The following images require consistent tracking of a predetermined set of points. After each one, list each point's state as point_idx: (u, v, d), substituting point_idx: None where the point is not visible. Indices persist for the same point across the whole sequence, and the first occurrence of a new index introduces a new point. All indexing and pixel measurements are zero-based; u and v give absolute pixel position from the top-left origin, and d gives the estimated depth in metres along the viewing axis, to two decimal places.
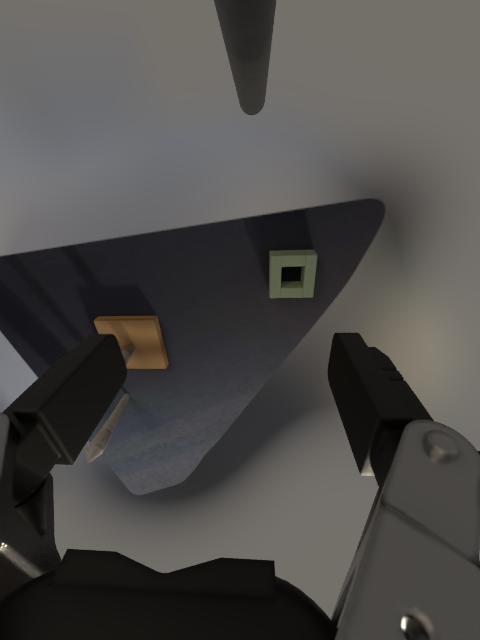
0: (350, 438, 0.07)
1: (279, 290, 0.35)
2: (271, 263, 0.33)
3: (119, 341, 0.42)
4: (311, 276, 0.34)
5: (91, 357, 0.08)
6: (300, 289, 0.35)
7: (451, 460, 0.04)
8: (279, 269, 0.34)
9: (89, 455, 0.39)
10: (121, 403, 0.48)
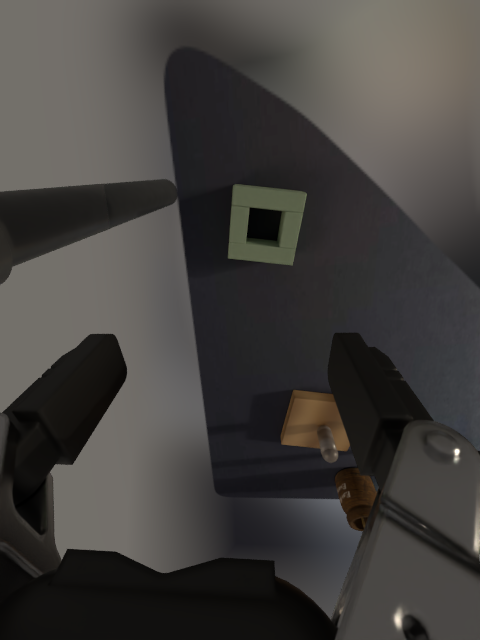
0: (350, 438, 0.07)
1: (282, 249, 0.23)
2: (238, 257, 0.23)
3: (312, 434, 0.37)
4: (267, 196, 0.21)
5: (91, 357, 0.08)
6: (287, 215, 0.21)
7: (451, 460, 0.04)
8: (248, 247, 0.23)
9: None
10: None
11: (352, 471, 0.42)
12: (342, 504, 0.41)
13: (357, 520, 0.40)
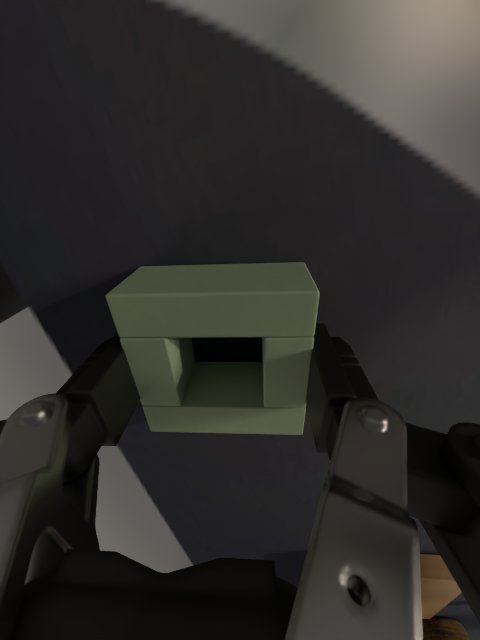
0: (311, 420, 0.08)
1: (272, 411, 0.09)
2: (173, 429, 0.10)
3: None
4: (207, 309, 0.07)
5: None
6: (272, 345, 0.08)
7: (379, 429, 0.05)
8: (191, 411, 0.09)
9: None
10: None
11: (437, 627, 0.27)
12: None
13: None
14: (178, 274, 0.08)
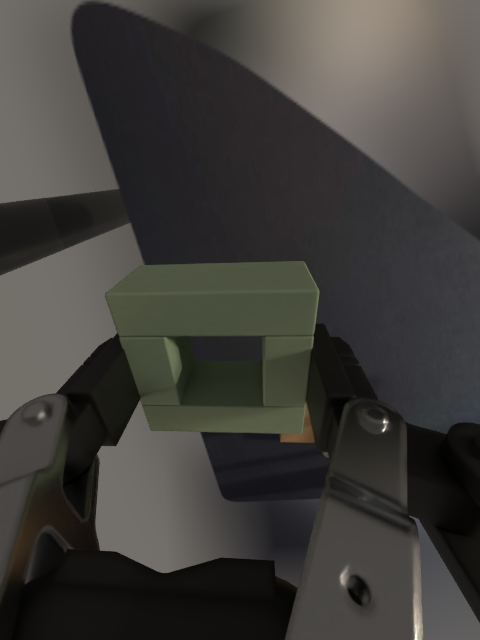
0: (311, 420, 0.08)
1: (272, 410, 0.09)
2: (173, 429, 0.10)
3: None
4: (206, 308, 0.07)
5: None
6: (272, 344, 0.08)
7: (379, 429, 0.05)
8: (190, 410, 0.09)
9: None
10: None
11: None
12: None
13: None
14: (178, 273, 0.08)
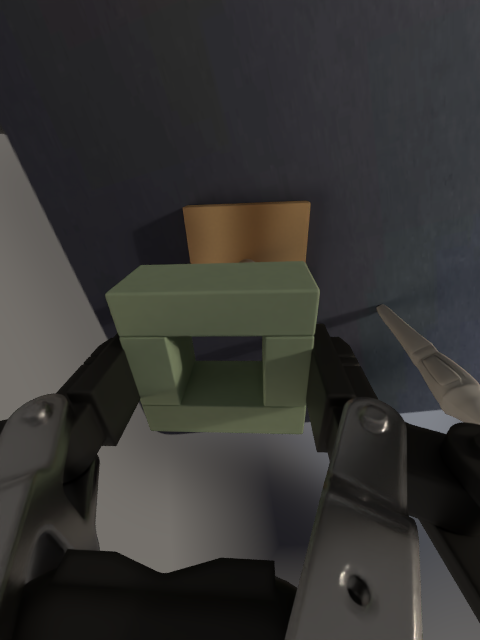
0: (311, 420, 0.08)
1: (273, 410, 0.09)
2: (173, 429, 0.10)
3: None
4: (207, 308, 0.07)
5: None
6: (272, 344, 0.08)
7: (379, 429, 0.05)
8: (191, 410, 0.09)
9: (469, 418, 0.14)
10: (387, 320, 0.23)
11: None
12: None
13: None
14: (178, 273, 0.08)
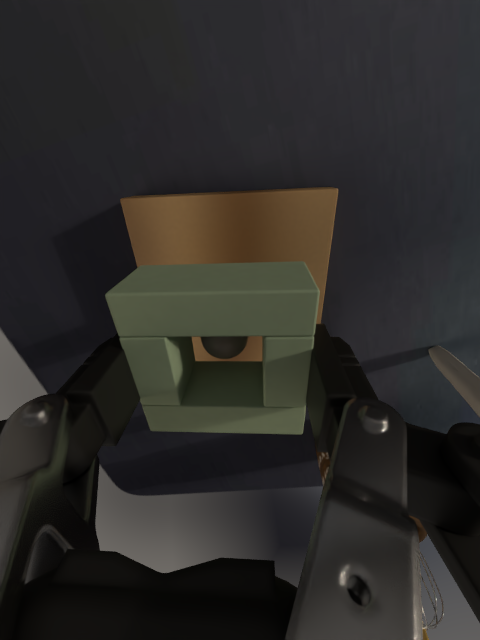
0: (311, 420, 0.08)
1: (273, 411, 0.09)
2: (173, 429, 0.10)
3: None
4: (207, 309, 0.07)
5: None
6: (272, 345, 0.08)
7: (379, 429, 0.05)
8: (190, 411, 0.09)
9: None
10: (454, 376, 0.14)
11: None
12: None
13: None
14: (178, 273, 0.08)
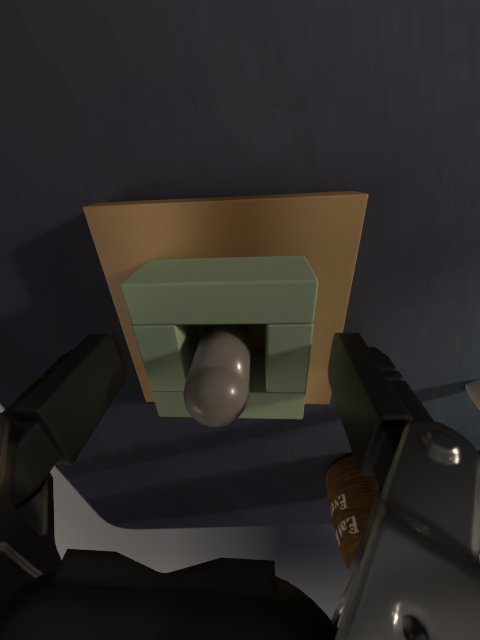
0: (350, 438, 0.07)
1: (274, 396, 0.10)
2: (181, 414, 0.11)
3: None
4: (214, 298, 0.08)
5: (91, 357, 0.08)
6: (274, 332, 0.08)
7: (451, 460, 0.04)
8: None
9: None
10: None
11: None
12: (341, 551, 0.15)
13: None
14: (186, 266, 0.09)
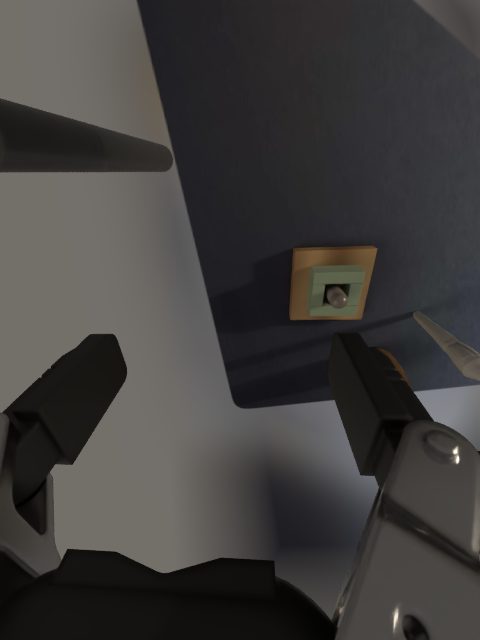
0: (350, 438, 0.07)
1: (348, 307, 0.32)
2: (317, 315, 0.33)
3: None
4: (338, 276, 0.30)
5: (91, 357, 0.08)
6: (352, 285, 0.31)
7: (451, 460, 0.04)
8: (324, 308, 0.33)
9: (478, 376, 0.26)
10: (422, 322, 0.34)
11: None
12: None
13: None
14: (325, 268, 0.32)
